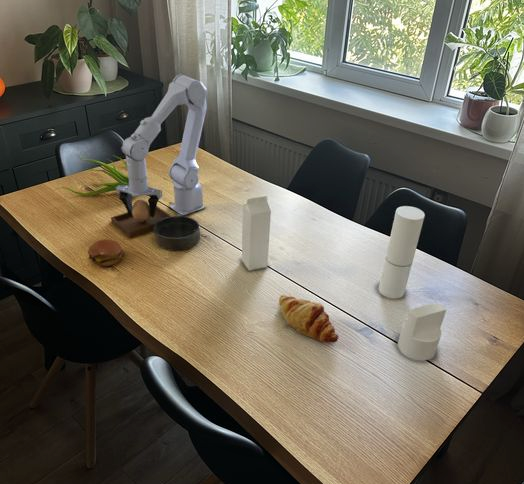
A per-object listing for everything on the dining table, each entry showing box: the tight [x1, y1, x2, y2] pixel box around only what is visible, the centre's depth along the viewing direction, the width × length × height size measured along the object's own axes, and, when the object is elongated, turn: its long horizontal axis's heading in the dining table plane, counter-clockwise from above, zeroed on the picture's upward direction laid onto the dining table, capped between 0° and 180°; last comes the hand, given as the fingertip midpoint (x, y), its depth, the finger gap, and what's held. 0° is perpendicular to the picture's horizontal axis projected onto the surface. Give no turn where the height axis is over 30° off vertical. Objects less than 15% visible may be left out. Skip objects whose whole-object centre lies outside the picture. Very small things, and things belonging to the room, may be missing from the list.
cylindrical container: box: [378, 205, 426, 299], centre depth 133 cm, size 7×7×25 cm
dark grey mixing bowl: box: [152, 215, 201, 251], centre depth 157 cm, size 14×14×4 cm
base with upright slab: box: [397, 301, 447, 362], centre depth 119 cm, size 9×9×12 cm
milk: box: [241, 195, 272, 271], centre depth 142 cm, size 6×6×22 cm
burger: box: [87, 238, 124, 267], centre depth 146 cm, size 10×9×5 cm
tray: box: [110, 205, 172, 239], centre depth 165 cm, size 16×12×2 cm
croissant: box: [278, 294, 339, 343], centre depth 126 cm, size 21×10×8 cm, turn 39°
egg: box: [132, 199, 151, 222], centre depth 163 cm, size 6×6×8 cm
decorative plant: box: [53, 155, 129, 196], centre depth 177 cm, size 18×30×15 cm, turn 70°
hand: (141, 214), depth 164 cm, fingers open, 7 cm apart
